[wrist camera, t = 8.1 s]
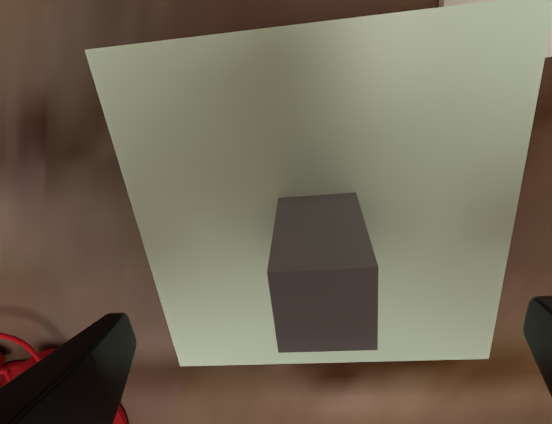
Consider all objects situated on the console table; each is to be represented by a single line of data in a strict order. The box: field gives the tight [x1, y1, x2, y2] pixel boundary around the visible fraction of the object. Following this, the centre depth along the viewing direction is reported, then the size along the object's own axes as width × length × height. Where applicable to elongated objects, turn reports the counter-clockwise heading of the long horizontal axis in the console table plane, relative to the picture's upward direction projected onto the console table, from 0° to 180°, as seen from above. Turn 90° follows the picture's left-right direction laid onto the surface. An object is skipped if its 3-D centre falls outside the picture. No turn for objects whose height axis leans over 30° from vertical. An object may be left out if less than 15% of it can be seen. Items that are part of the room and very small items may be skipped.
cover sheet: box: [85, 0, 552, 366], centre depth 11 cm, size 12×12×5 cm
